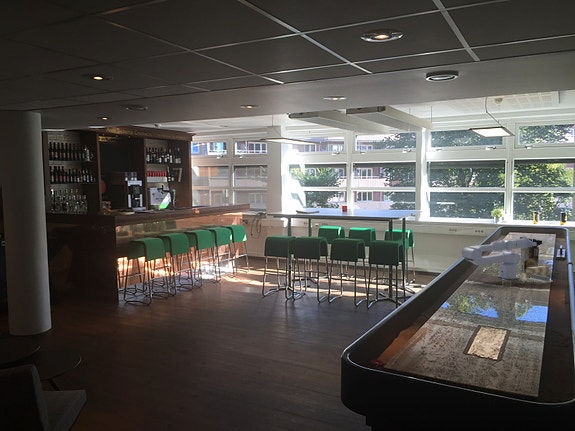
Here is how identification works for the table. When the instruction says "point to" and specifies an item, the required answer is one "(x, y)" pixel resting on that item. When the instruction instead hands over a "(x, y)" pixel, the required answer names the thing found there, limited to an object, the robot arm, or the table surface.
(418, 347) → the table surface
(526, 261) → the coffee box
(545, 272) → the ash beam
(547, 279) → the balance stand
